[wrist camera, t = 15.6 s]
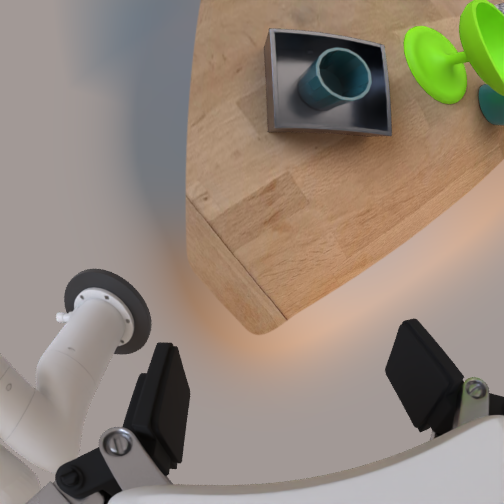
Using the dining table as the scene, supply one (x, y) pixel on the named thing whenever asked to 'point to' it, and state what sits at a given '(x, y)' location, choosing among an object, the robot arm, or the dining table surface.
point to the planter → (500, 7)
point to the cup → (491, 105)
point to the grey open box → (311, 119)
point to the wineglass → (450, 61)
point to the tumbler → (335, 79)
